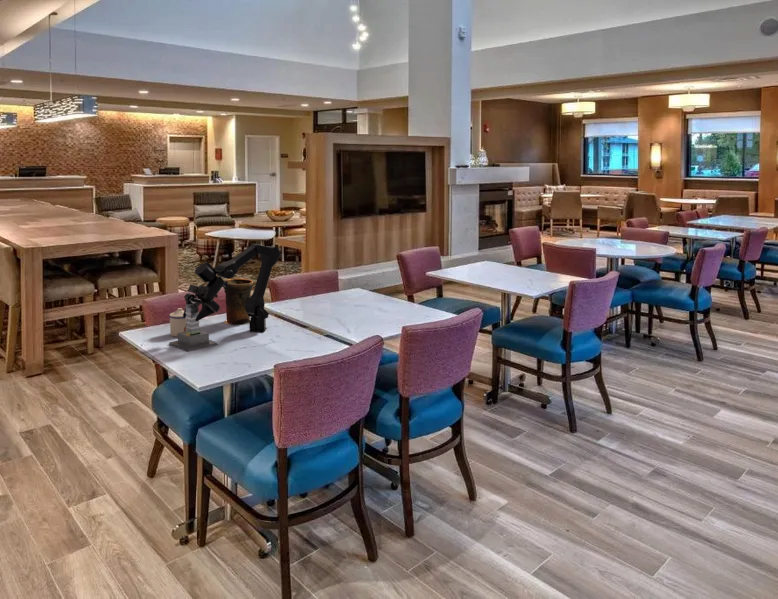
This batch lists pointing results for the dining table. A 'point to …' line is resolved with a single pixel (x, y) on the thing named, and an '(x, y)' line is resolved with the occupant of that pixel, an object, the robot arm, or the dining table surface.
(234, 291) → the vessel
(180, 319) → the teacup with lid
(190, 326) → the column
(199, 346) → the stand base
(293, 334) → the dining table surface
